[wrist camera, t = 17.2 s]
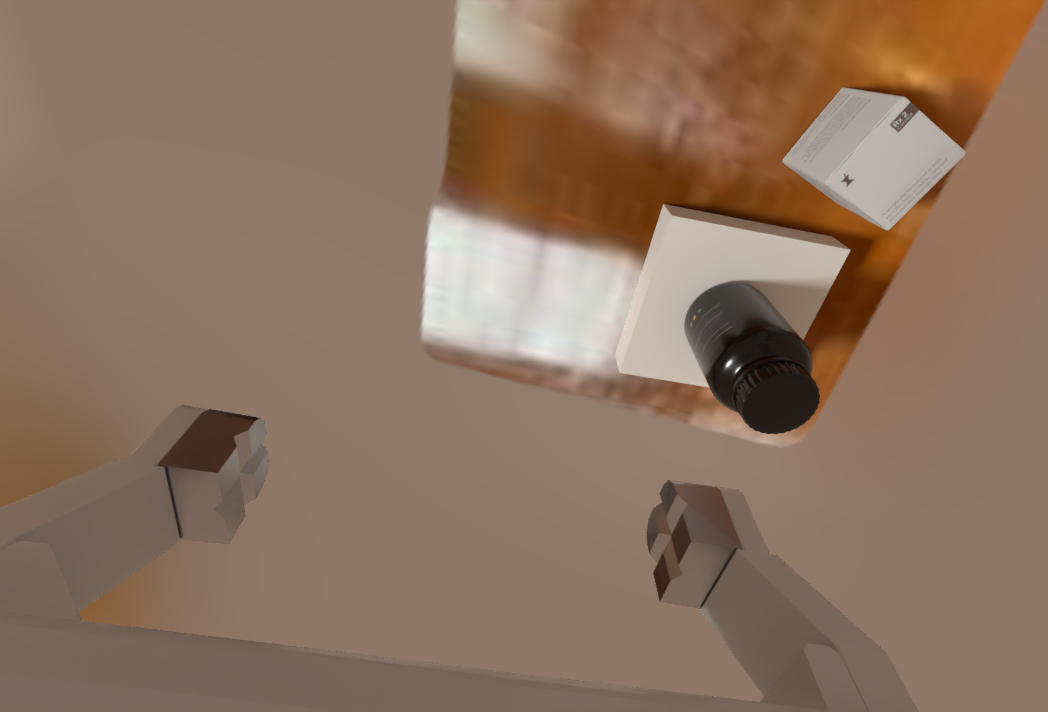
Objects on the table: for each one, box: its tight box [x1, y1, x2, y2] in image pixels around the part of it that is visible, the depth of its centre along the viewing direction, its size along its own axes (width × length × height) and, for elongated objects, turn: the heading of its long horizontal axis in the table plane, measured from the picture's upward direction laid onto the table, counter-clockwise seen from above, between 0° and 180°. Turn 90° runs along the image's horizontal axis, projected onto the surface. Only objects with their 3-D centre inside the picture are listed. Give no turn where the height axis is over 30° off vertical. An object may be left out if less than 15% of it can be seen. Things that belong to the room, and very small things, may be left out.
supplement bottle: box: [684, 282, 820, 434], centre depth 39 cm, size 7×7×12 cm
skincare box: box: [782, 87, 966, 230], centre depth 37 cm, size 6×6×7 cm
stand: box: [615, 204, 850, 388], centre depth 45 cm, size 14×14×3 cm
